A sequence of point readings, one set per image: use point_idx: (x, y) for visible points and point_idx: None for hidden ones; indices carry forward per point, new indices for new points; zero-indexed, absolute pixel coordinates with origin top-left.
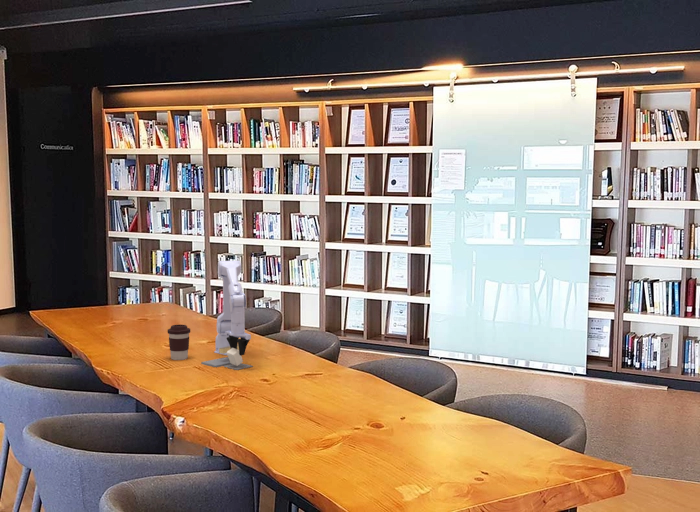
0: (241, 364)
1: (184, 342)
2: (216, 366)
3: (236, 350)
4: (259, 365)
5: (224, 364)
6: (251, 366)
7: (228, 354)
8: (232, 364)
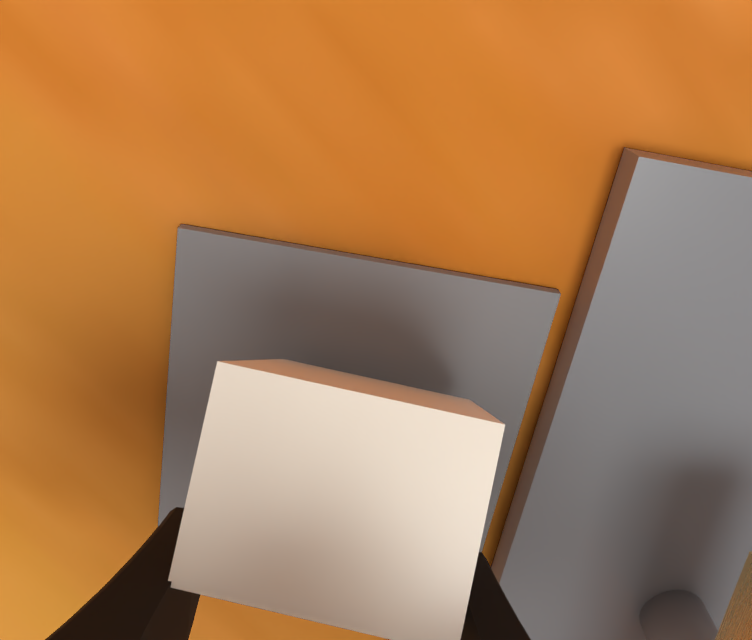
0: None
1: None
2: (627, 167)
3: (245, 557)
4: None
5: (572, 348)
6: (160, 507)
7: (442, 407)
8: None
